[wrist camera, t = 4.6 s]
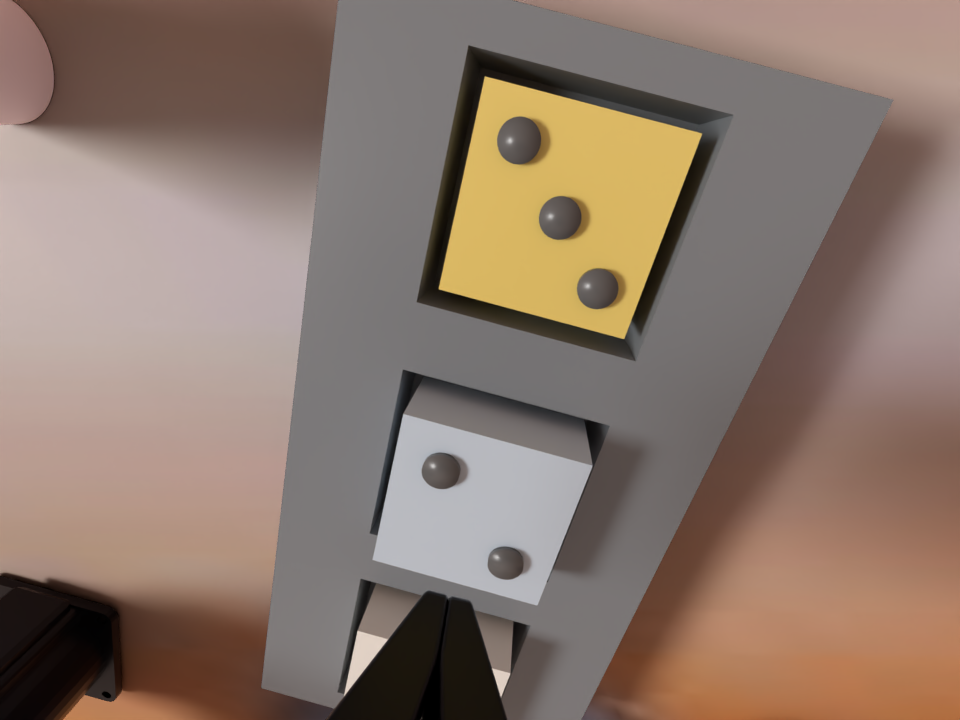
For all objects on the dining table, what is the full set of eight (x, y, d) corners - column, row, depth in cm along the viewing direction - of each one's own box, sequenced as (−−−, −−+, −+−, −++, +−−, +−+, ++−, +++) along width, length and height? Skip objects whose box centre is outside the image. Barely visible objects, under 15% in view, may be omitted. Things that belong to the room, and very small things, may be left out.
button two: (537, 545, 17) (537, 611, 14) (395, 505, 17) (370, 565, 14) (584, 419, 15) (593, 470, 12) (424, 376, 15) (401, 417, 12)
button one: (481, 696, 20) (472, 773, 17) (360, 663, 20) (334, 734, 17) (513, 607, 18) (509, 679, 15) (381, 570, 18) (355, 636, 15)
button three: (610, 313, 15) (625, 342, 13) (453, 271, 15) (437, 291, 13) (673, 140, 13) (705, 132, 11) (494, 93, 13) (484, 74, 11)
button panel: (552, 684, 22) (555, 770, 19) (300, 614, 23) (261, 688, 19) (808, 117, 14) (893, 99, 10) (389, 7, 14) (342, -45, 10)
